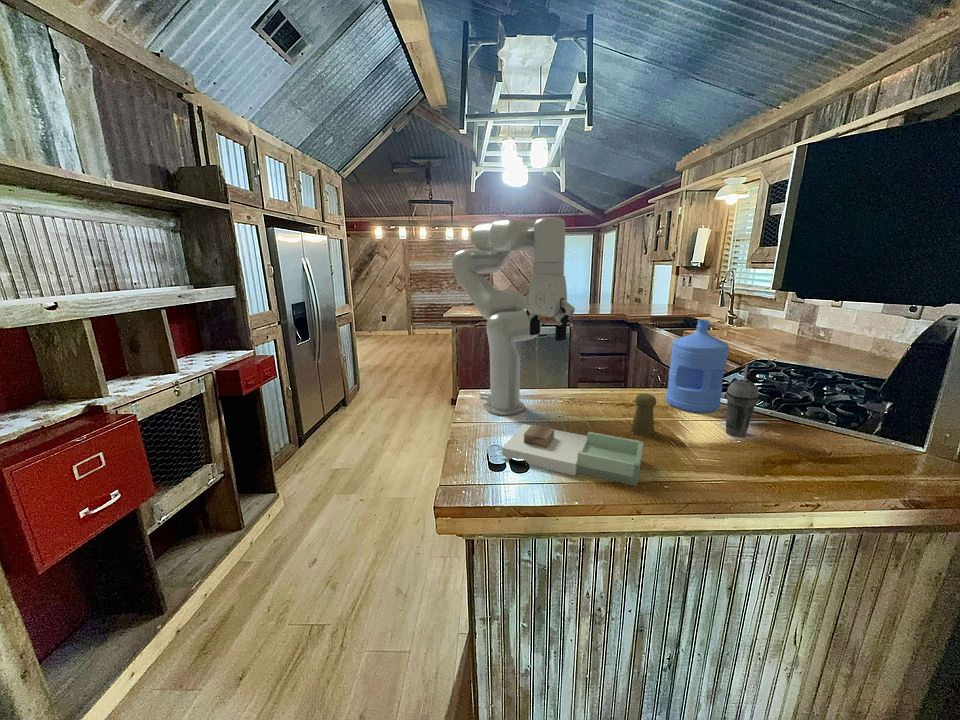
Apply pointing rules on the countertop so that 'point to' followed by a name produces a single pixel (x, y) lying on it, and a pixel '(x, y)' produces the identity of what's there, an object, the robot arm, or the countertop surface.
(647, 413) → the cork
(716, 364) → the water jug
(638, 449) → the box
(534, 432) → the walnut tile
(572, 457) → the white flat slab
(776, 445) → the countertop surface
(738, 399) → the beverage cup
